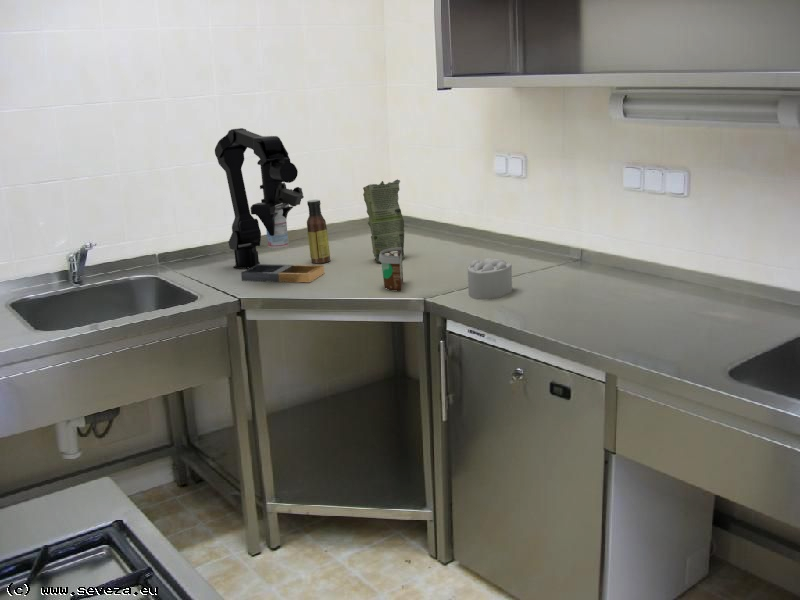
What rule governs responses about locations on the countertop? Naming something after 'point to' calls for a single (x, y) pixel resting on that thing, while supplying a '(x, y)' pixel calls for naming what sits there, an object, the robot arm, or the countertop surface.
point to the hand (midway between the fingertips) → (277, 233)
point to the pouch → (384, 216)
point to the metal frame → (282, 273)
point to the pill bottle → (278, 232)
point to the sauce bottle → (317, 234)
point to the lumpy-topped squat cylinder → (489, 278)
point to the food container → (392, 268)
